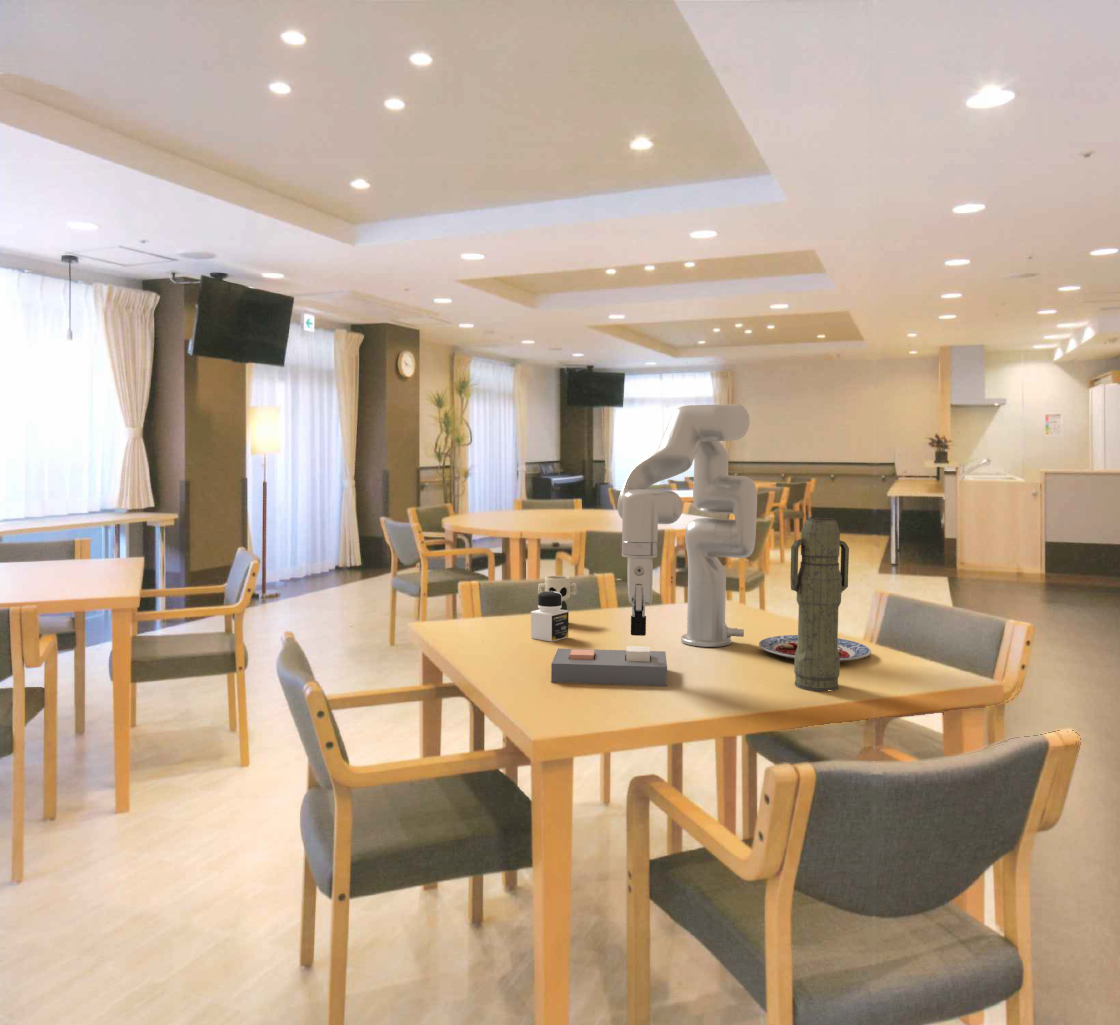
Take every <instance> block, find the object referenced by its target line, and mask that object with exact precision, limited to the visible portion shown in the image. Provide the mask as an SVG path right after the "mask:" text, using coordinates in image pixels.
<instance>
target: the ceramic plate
mask: <svg viewBox="0 0 1120 1025" xmlns="http://www.w3.org/2000/svg"><path fill="white" fill-rule="evenodd" d="M758 643H759V644H758V645H759V647H760V648H761V649H762V650H764V651H766V652H768V653H772V654H775V655H779V656H780V657H783V658H786V659H788V660H793V661H795V652H796V649H797V647H798V634H791V635H790V634H789V635H788V634H787V635H786V634H785V635H777V636H771V637H770V636H769V637H766V638H764V639H762V640H760V641H759V642H758ZM837 649H838V652H839V655H840V663H843V662H842V661H844V662H846V661H852V660H858V659H863V658H867V657H868V656H870V655H871V652H872V650H871V649H870V648H869V647H868V646H867V645H865V644H863V643H859V642H856V641H853V640H849V639H844V638H838V641H837Z"/></svg>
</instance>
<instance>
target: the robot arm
mask: <svg viewBox="0 0 1120 1025" xmlns="http://www.w3.org/2000/svg"><path fill="white" fill-rule="evenodd" d="M671 414H672V415H671V416H670V419H669V421H668V424H667V427H666V429H665V431H664V434H663V436H662V438H661V441H660V443H659V446H658V448H657V451H655V452H654V453H652V454H651V455H648V457H646V458H645V459H643V460H642V461H640V462H639V463H638V464H637V465H636V466H635V467H634V468H632V469H631V471H629V473H628V474H627V476H626V478H625V480H624V483H623V485H622V487H621V490H620V493H619V495H618V499H617V505H616V506H617V507H616V508H617V513H618V516H619V517H620V518H621V519H622V524H621V526H622V527H621V530H622V532H621V534H622V536H621V557H623V558H627V560H626V562H627V563H626V564H627V566H626V568H627V577H626V578H627V593H628V603H629V604H631V607H632V608H631V610H632V611H631V614H632V615H630V635H631V636H637V637H640V636H641V637H645V636H646V635H647V616H646V603H648V605H649V606H650V605H652V604H653V580H654V579H653V575H654V574H653V573H654V572H653V569H654V567H653V559H654V558H657V557H658V535H659V534H658V533H659V532H658V531H659V530H658V528H659V527H658V525H671V524H673V523H675V522H677V521H678V520H679V519H680V517H682V516H681V515H682V513H683V510H684V509H683V508H684V506H683V500H682V498H681V497H680V495H679V494H678V493H676V492H675V491H673V490H666V489H652V488H651V489H648V488H650V487H651V486H653V485H655V484H657V483H659V482H662V481H664V480H666V479H670V478H673V477H676V476H678V475H682V474H683V473H685V472H687V471H688V470H689V469H690V468H691V467H692V465H693V464H694V466H693V467H694V468H693V481H692V482H693V483H692V484H693V485H692V486H693V487H692V501H693V502H692V503H693V506H694V508H695V509H696V510H697V511H699V512H702V513H708V514H709V513H710V514H712V513H713V514H730V515H734V519H728V518H726V519H725V518H717V517H716V518H710V517H700V518H695V519H693V520H691V521H689V523H688V524H687V526H685V530H684V539H685V540H684V541H685V549H686V553H687V613H686V614H687V617H686V618H687V619H686V620H687V623H686V626H687V627H686V630H687V631H686V633H685V634H682V635H681V636H680V641H681V642H682V644H685V645H689V646H693V647H702V648H715V647H717V648H718V647H725V646H729V645H730V644H731V643H732V637H740V638H743V637H745V636H744V633H745V631H744V630H745V629H744V628H743V629H742V628H738V627H732V628H731V627H728V625H727V624H726V600H727V599H726V594H727V589H726V587H727V574H726V573H727V572H726V570H725V567H724V566H723V564H722V562H721V561H720V559H719V558H730V559H731V558H733V559H745V558H748V557H751V555H752V554H753V552H754V549H755V545H756V536H757V534H756V533H757V515H758V514H757V513H758V491H757V487H756V483H755V481H754V480H753V479H752V478H750V477H748V476H745V475H729V454H728V451H727V450H726V448H725V446H724V445H723V444H722V442H730V441H736V440H741V439H742V438H744V437H745V436H746V435H747V432H748V431H749V427H750V415H749V412H748V410H747V408H745V406H744V405H743V404H739V403H731V404H730V403H729V404H727V403H725V404H688V405H683V406H680V407H678V408H676V409H675V410H674V411H673V413H671Z"/></svg>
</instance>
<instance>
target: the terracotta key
mask: <svg viewBox="0 0 1120 1025" xmlns="http://www.w3.org/2000/svg"><path fill="white" fill-rule="evenodd" d="M571 649H572V650H571V653H570V659H580V660H595V650H578V649H579V648H571Z"/></svg>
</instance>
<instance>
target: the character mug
mask: <svg viewBox="0 0 1120 1025" xmlns="http://www.w3.org/2000/svg"><path fill="white" fill-rule="evenodd" d="M571 587H572V589H573V591H571ZM577 587H578V586H577V583H575V582H574V583H571V577H570V576H568V575H567V576H566V575H549V576H545V577H544V583H538V587H537V594H538V595H539V593H541V592H543V591H542V590H543V589H542V588H544V592H545V591H554V592H558V593H560V594H561V595H562V608H560V609H561V610H567V611H568V605H567V603H566V601H568V600H569V599H570V598H571V596H576V595H577V593H578V588H577Z"/></svg>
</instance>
